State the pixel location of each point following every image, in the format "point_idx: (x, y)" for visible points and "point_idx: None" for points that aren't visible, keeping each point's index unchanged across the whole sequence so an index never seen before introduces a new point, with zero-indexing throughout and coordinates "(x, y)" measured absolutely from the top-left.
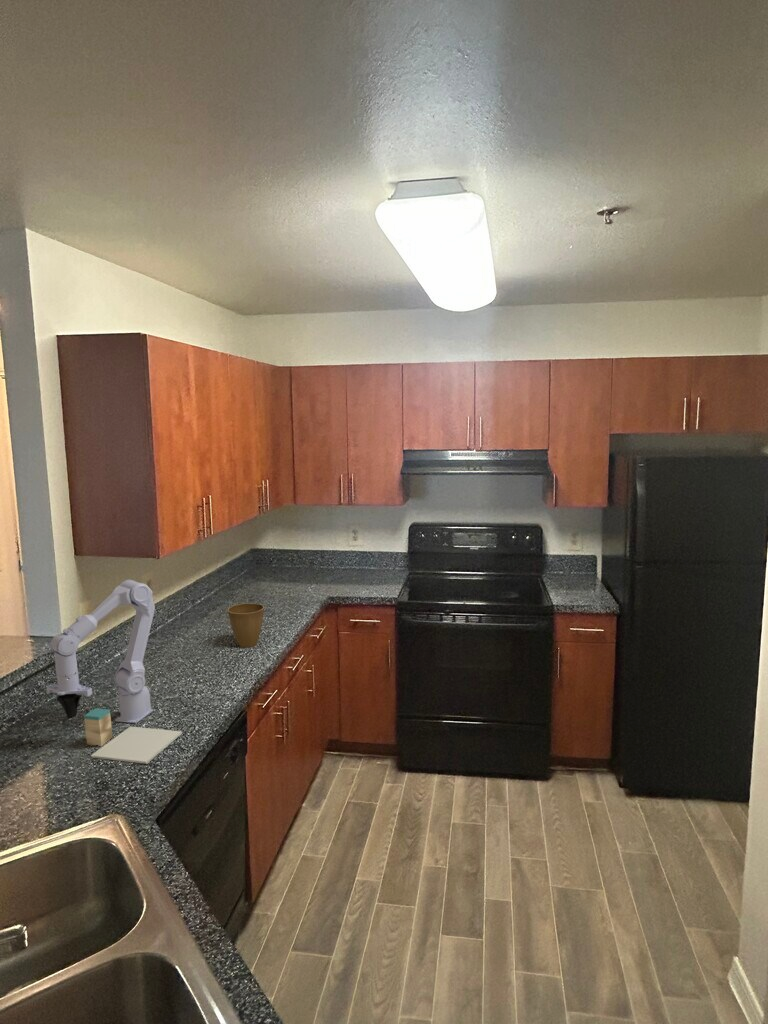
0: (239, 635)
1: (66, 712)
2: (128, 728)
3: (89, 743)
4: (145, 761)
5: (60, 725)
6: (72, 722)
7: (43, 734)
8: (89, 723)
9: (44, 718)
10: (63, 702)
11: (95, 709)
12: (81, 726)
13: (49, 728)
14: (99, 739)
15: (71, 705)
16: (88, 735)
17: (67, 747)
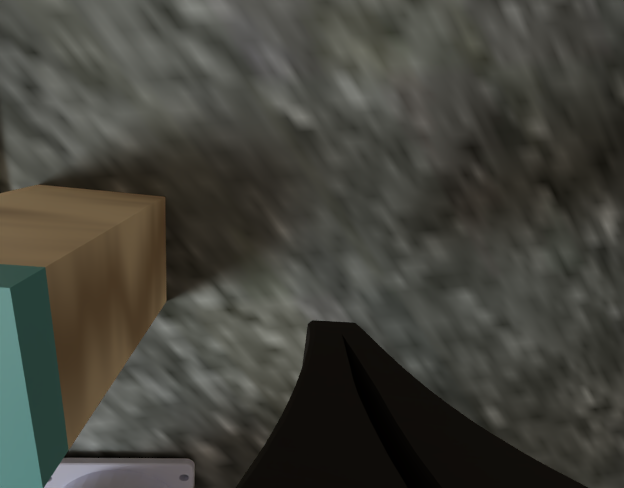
0: None
1: (372, 351)
2: None
3: (140, 196)
4: None
5: (481, 385)
6: None
7: (528, 287)
8: (6, 241)
9: (598, 432)
10: (461, 480)
11: (13, 466)
12: None
13: (525, 350)
14: (15, 193)
15: (272, 442)
16: (112, 208)
17: (277, 145)
